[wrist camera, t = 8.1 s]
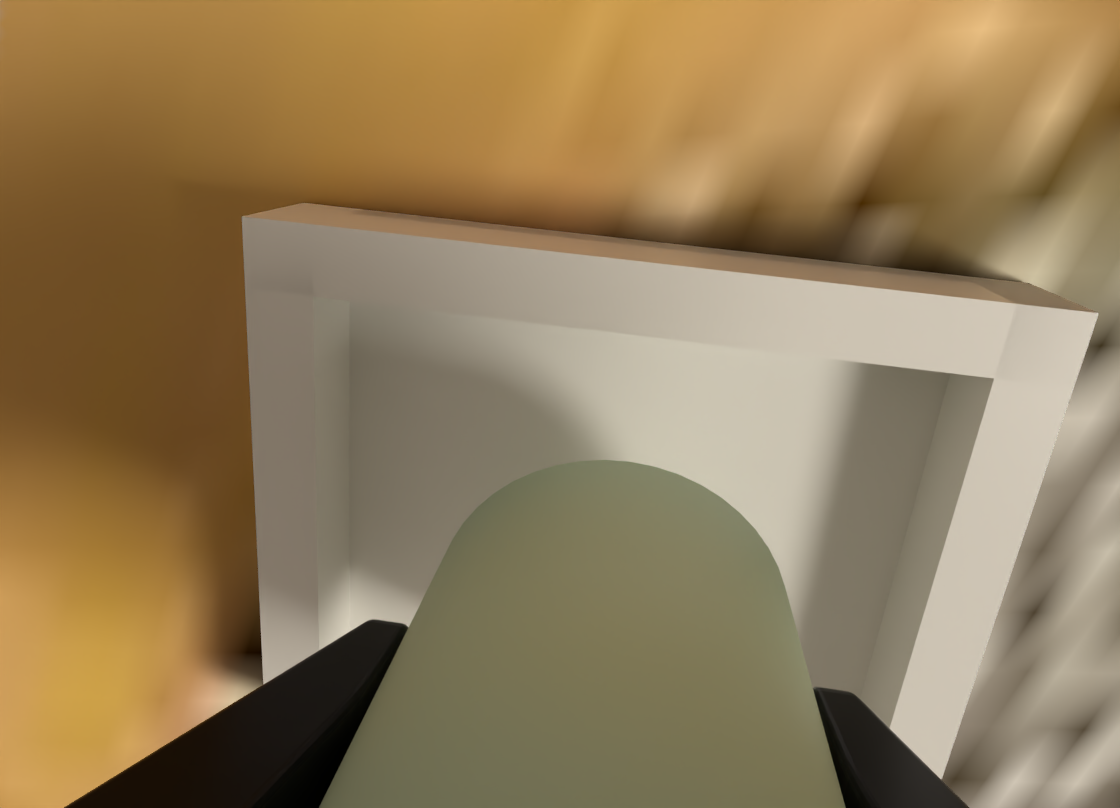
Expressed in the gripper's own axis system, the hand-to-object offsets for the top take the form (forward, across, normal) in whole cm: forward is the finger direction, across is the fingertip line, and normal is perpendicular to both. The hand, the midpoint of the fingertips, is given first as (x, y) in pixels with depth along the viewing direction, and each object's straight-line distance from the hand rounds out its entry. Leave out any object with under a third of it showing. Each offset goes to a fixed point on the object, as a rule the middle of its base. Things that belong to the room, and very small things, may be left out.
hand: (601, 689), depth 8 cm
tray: (+3, 0, 0) cm, 3 cm away
